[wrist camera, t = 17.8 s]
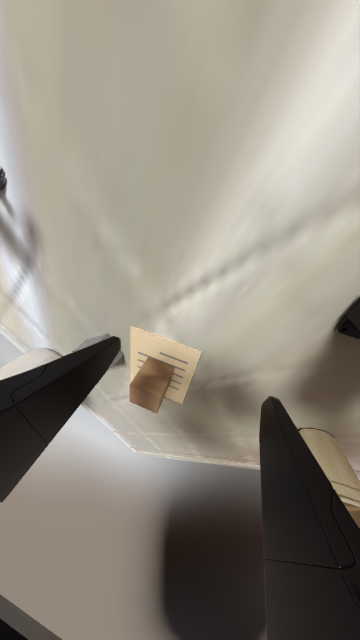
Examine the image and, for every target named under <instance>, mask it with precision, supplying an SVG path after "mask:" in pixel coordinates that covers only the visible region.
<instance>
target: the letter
mask: <svg viewBox="0 0 360 640" xmlns="http://www.w3.org/2000/svg"><path fill="white" fill-rule="evenodd" d="M201 353H202V352H201V351H199V350H196V349H193V348H191V347H188V346H185V345H182V344H180V343H177V342H174V341H171V340H169V339H166V338H163V337H161V336H158V335H155V334H152V333H150V332H147V331H144V330H142V329H139V328H136V327H133V326H131V372H130V382H132V381H133V379H134V377H135V376H136V374H137V373H138V371H139V370H140V368H141V367H142V365H143V364H144V362H145V361H146V359H147V358H148V356H149V357H151V358H154V359H156V360H159V361H161V362H164V363H166V364H169V365H171V366H174V371H173V374H172V378H171V382H170V385H169V387H168V389H167V392H166V394H165V396H164V397H166V398H168V399H171V400H173V401H176V402H178V403H180V404H182V403H183V400H184V398H185V395H186V393H187V390H188V387H189V385H190V382H191V379H192V377H193V374H194V372H195V369H196V366H197V364H198V361H199V359H200V356H201Z"/></svg>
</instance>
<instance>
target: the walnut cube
mask: <svg viewBox="0 0 360 640" xmlns="http://www.w3.org/2000/svg"><path fill="white" fill-rule="evenodd" d="M173 371H174V366H171V365H169V364H166V363H164V362H161V361H159V360H156V359H154V358H151V357H149V356H148V358H147V359H146V361H145V362H144V364H143V365H142V367H141V368H140V370H139V371H138V373H137V374H136V376H135V377H134V379H133V381H132V382H131V384H130V402H132V403H134V404H137V405H139V406H141V407H143V408H146V409H148V410H150V411H152V412H154V413H158V410H159V408H160V406H161V403H162V401H163V399H164V396H165V394H166V392H167V389H168V387H169V385H170V382H171V378H172V374H173Z"/></svg>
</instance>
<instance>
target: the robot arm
mask: <svg viewBox="0 0 360 640" xmlns="http://www.w3.org/2000/svg"><path fill="white" fill-rule="evenodd" d="M344 327H345V328H344ZM342 328H344V329H342ZM336 329H337V331H338V332H339V333H341V334H345V335H348V336H351V337H354V338H358V339H360V301H359V303H358V304H357V305H356V306H355V307H354V308H353V309H352V310H351V311H350V312H349V313H348V314H347V316H346V317H345V318H344V319H343V320H342V321H341V322H340V323H339V324H338V325H337V326H336ZM120 349H121V340H120V338H118V337H116V336H112V337H110V338H107V339H105V340H102V341H100V342H98V343H95V344H93V345H90V346H88V347H85V348H83V349H80V350H78V351H75V352H73V353H71V354H68V355H66V356H63V357H61V358H58V359H56V360H53V361H51V362H49V363H46V364H43V365H41V366H38V367H36V368H33V369H31V370H28V371H25V372H23V373H20V374H17V375H14V376H11V377H8V378H5V379H2V380H0V502H3V501H4V500H5V499H6V497H7V496H8V495H9V494H10V492H11V491H12V490H13V489H14V487H15V486H16V485H17V484H18V482H19V481H20V480H21V479H22V477H23V476H24V475H25V473H26V472H27V471H28V470H29V469H30V467H31V466H32V465H33V464H34V462H35V461H36V460H37V458H38V457H39V456H40V455H41V453H42V452H43V451H44V450H45V448H46V447H47V446H48V444H49V443H50V442H51V441H52V439H53V438H54V437H55V436H56V434H57V433H58V432H59V430H60V429H61V428H62V427H63V426H64V424H65V423H66V422H67V421H68V419H69V418H70V417H71V416H72V414H73V413H74V412H75V411H76V409H77V408H78V407H79V405H80V404H81V403H82V402H83V401H84V399H85V398H86V397H87V395H88V394H89V393H90V392H91V390H92V389H93V388H94V387H95V385H96V384H97V383H98V382H99V380H100V379H101V378H102V377H103V375H104V374H105V373H106V371H107V370H108V368H109V367H110V365H111V364H112V362H113V361H114V359H115V357H116V356H117V354H118V353H119V351H120ZM259 442H260V468H261V494H262V519H263V546H264V558H265V559H264V576H265V599H266V600H265V602H266V627H267V640H360V528H359V527H358V525H357V524H356V522H355V521H354V519H353V517H352V516H351V514H350V513H349V511H348V510H347V508H346V507H345V505H344V503H343V502H342V500H341V499H340V497H339V495H338V494H337V492H336V491H335V489H333V486H332V484H331V483H330V481H329V479H328V478H327V476H326V475H325V473H324V471H323V470H322V468H321V466H320V465H319V463H318V462H317V460H316V458H315V457H314V455H313V454H312V452H311V450H310V449H309V447H308V445H307V444H306V442H305V441H304V439H303V437H302V436H301V434H300V433H299V431H298V429H297V428H296V426H295V425H294V423H293V421H292V420H291V418H290V416H289V415H288V413H287V412H286V410H285V408H284V407H283V405H282V404H281V402H280V400H279V399H277V398H275V397H272V396H269V397H268V398H267V399H266V400H265V401H264V402H263V404H262V407H261V419H260V434H259ZM0 640H62V639H61V638H59V637H58V636H56V635H55V634H54V633H52V632H51V631H50V630H48V629H47V628H46V627H44V626H43V625H41V624H40V623H39V622H37V621H36V620H35V619H33V618H32V617H30V616H29V615H28V614H26V613H25V612H24V611H22V610H21V609H20V608H18V607H17V606H15V605H14V604H13V603H11V602H10V601H8V600H7V599H6V598H4V597H3V596H2V595H0Z"/></svg>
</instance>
